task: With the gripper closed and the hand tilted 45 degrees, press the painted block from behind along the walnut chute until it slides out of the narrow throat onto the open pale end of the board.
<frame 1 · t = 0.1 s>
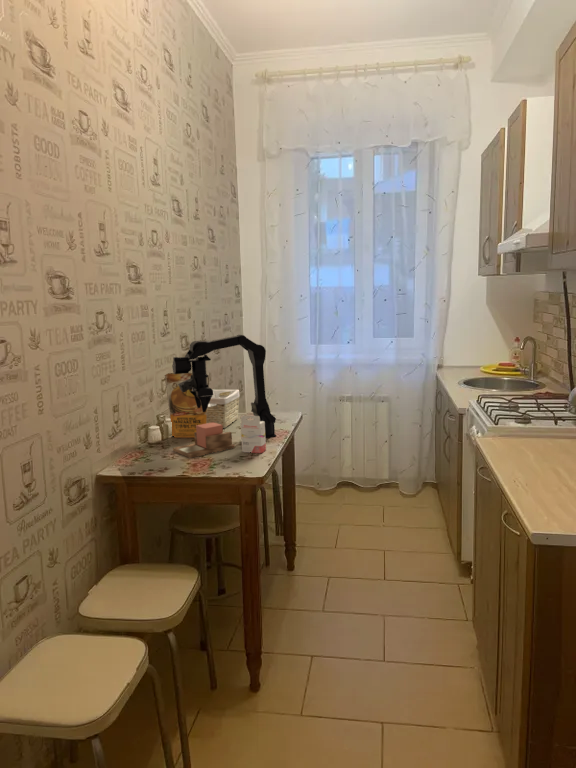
hand: (201, 409, 243), 15 cm above the table, tool pointing down, fingers open, 9 cm apart
block: (209, 435, 238), point 5 cm above the table, slide at 0.0 cm
ink cartridge box: (254, 451, 233), on the table
storage basket: (218, 424, 282), on the table
chute: (210, 448, 239), on the table
pancake mix bag: (189, 437, 259), on the table
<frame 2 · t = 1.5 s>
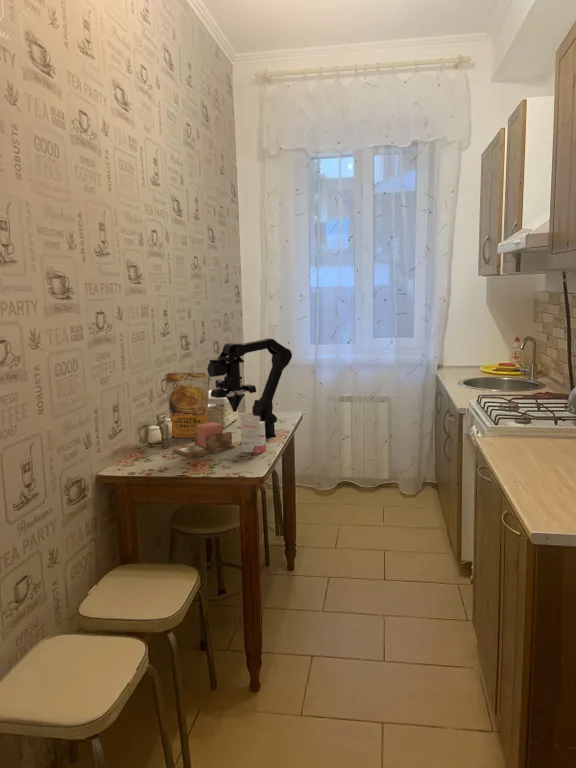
hand: (234, 411, 245), 13 cm above the table, tool pointing down, fingers closed
nothing on the table moved.
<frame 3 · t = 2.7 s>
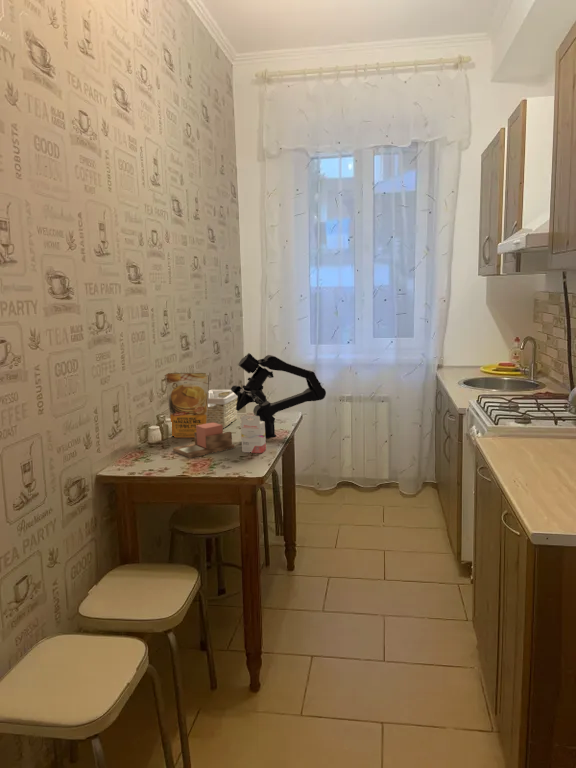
hand: (237, 410, 245), 13 cm above the table, tool tilted 45°, fingers closed
nothing on the table moved.
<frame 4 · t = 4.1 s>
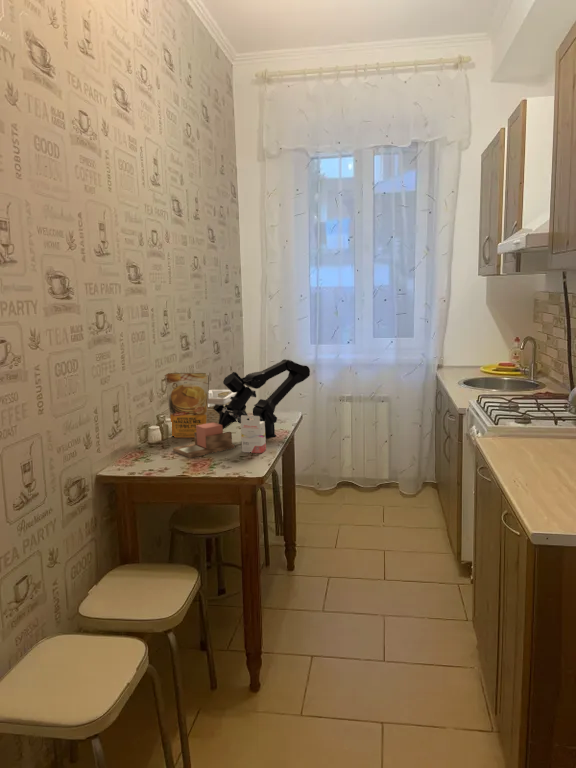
hand: (218, 429, 241), 7 cm above the table, tool tilted 45°, fingers closed, pressing on block
block: (209, 435, 238), point 5 cm above the table, slide at 0.0 cm, touching gripper
everything else where it was.
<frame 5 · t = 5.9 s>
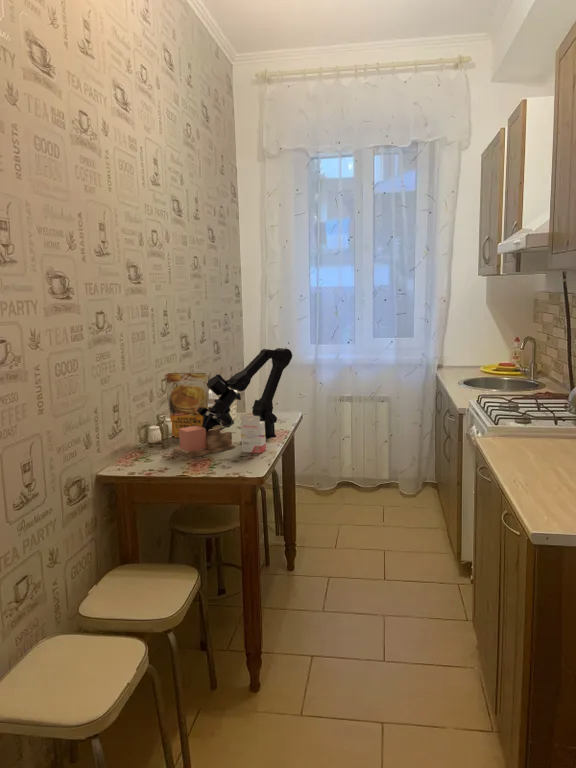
hand: (202, 433, 236), 7 cm above the table, tool tilted 45°, fingers closed, pressing on block
block: (192, 438, 234), point 5 cm above the table, slide at 7.7 cm, touching gripper
everything else where it was.
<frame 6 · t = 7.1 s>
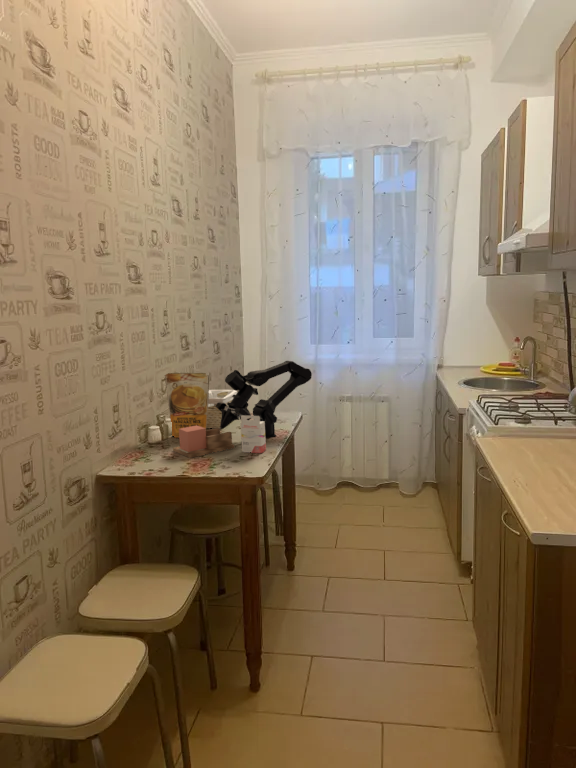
hand: (221, 428, 241), 7 cm above the table, tool tilted 45°, fingers closed
block: (192, 438, 234), point 5 cm above the table, slide at 7.7 cm
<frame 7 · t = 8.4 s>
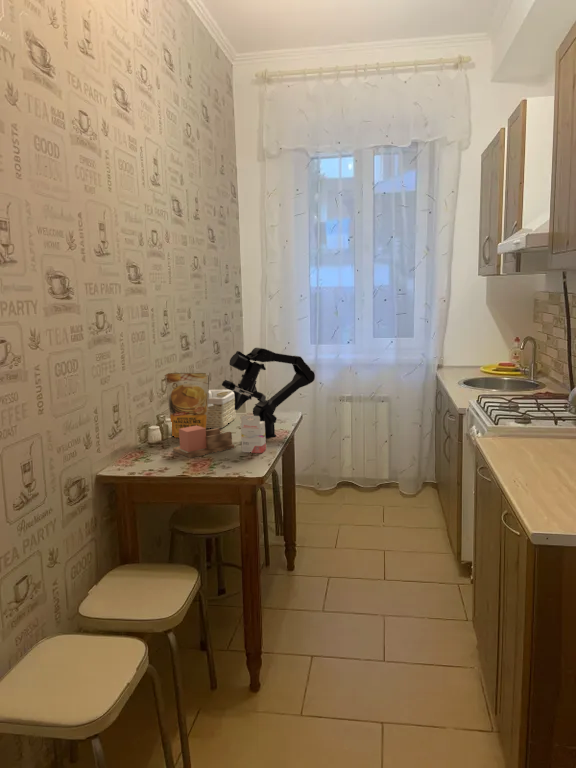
hand: (235, 410, 246), 13 cm above the table, tool tilted 30°, fingers closed
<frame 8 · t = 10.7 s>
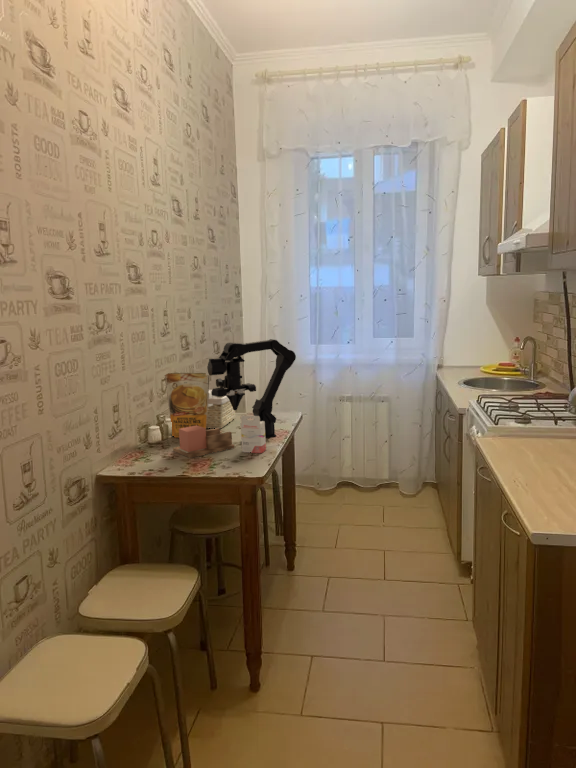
hand: (235, 410, 247), 13 cm above the table, tool pointing down, fingers closed
at the end: block slide at 7.7 cm; block touching nothing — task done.
